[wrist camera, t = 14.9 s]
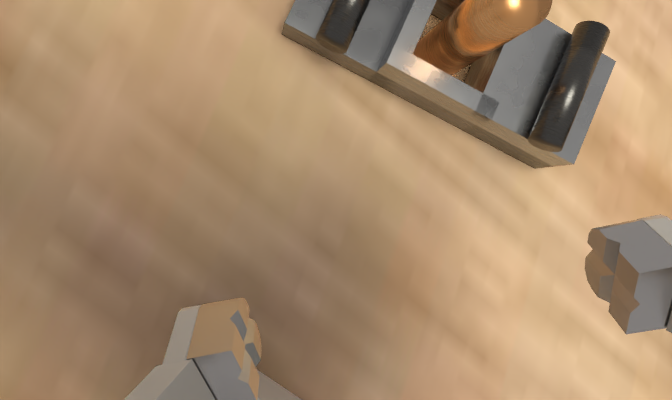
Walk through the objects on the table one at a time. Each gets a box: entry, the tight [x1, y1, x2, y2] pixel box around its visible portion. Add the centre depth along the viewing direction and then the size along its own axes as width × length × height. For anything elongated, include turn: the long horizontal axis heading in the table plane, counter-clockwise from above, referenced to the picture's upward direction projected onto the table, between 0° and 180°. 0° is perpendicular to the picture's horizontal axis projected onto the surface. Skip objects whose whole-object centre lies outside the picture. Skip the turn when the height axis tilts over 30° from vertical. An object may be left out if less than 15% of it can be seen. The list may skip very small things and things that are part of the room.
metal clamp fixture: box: [282, 0, 616, 168], centre depth 29 cm, size 20×8×6 cm, turn 65°
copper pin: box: [414, 0, 552, 75], centre depth 27 cm, size 3×3×10 cm
